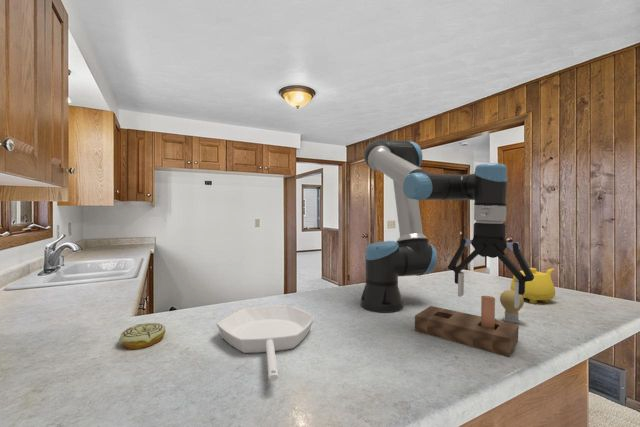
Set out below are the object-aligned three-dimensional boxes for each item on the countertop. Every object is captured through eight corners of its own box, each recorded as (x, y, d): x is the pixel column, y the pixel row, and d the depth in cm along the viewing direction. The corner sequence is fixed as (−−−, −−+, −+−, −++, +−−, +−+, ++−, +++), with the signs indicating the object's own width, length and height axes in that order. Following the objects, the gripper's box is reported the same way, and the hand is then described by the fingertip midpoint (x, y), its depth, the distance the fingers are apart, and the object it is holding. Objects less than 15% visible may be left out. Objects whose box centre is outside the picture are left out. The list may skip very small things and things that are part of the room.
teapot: (570, 302, 118) (570, 270, 117) (529, 306, 112) (529, 273, 112) (536, 293, 130) (537, 264, 130) (499, 296, 125) (499, 266, 125)
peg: (479, 342, 82) (480, 297, 82) (482, 338, 85) (483, 295, 85) (493, 345, 80) (493, 299, 80) (495, 341, 83) (496, 297, 83)
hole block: (414, 330, 90) (414, 315, 90) (430, 319, 99) (430, 305, 99) (509, 357, 74) (510, 338, 74) (518, 340, 83) (518, 324, 83)
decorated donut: (110, 352, 77) (110, 337, 77) (133, 334, 88) (133, 321, 88) (153, 350, 78) (153, 335, 78) (171, 333, 88) (171, 320, 88)
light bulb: (527, 326, 93) (527, 293, 93) (504, 324, 95) (504, 292, 94) (518, 319, 100) (518, 288, 99) (496, 317, 101) (497, 287, 101)
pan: (307, 316, 102) (307, 303, 102) (342, 387, 62) (342, 365, 62) (221, 322, 96) (221, 308, 96) (197, 405, 56) (197, 381, 56)
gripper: (437, 220, 87) (435, 294, 88) (545, 225, 71) (542, 316, 72) (446, 219, 93) (444, 289, 94) (548, 223, 77) (545, 307, 77)
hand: (487, 300), depth 83 cm, fingers open, 13 cm apart
